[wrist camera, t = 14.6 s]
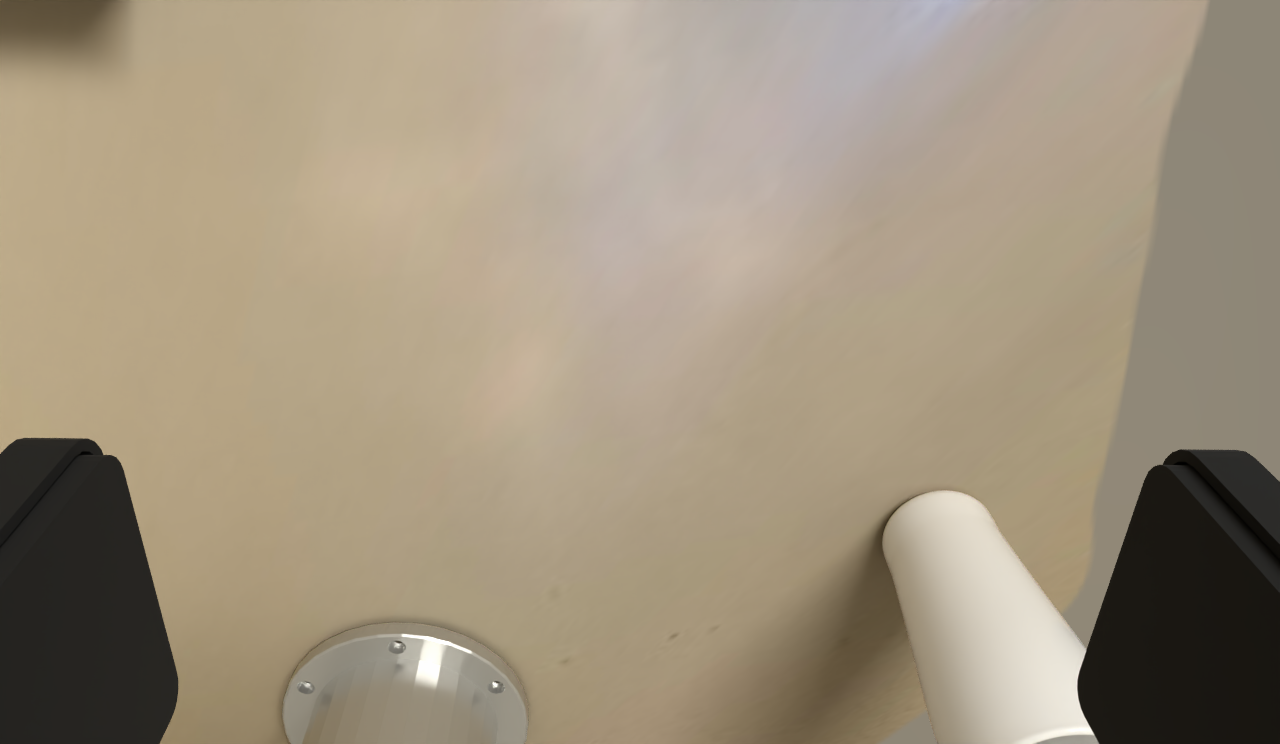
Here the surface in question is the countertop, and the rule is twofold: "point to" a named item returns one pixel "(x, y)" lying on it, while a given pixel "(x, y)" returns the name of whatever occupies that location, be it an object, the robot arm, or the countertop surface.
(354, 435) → the countertop surface
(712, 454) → the countertop surface
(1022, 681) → the drinking glass
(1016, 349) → the countertop surface
